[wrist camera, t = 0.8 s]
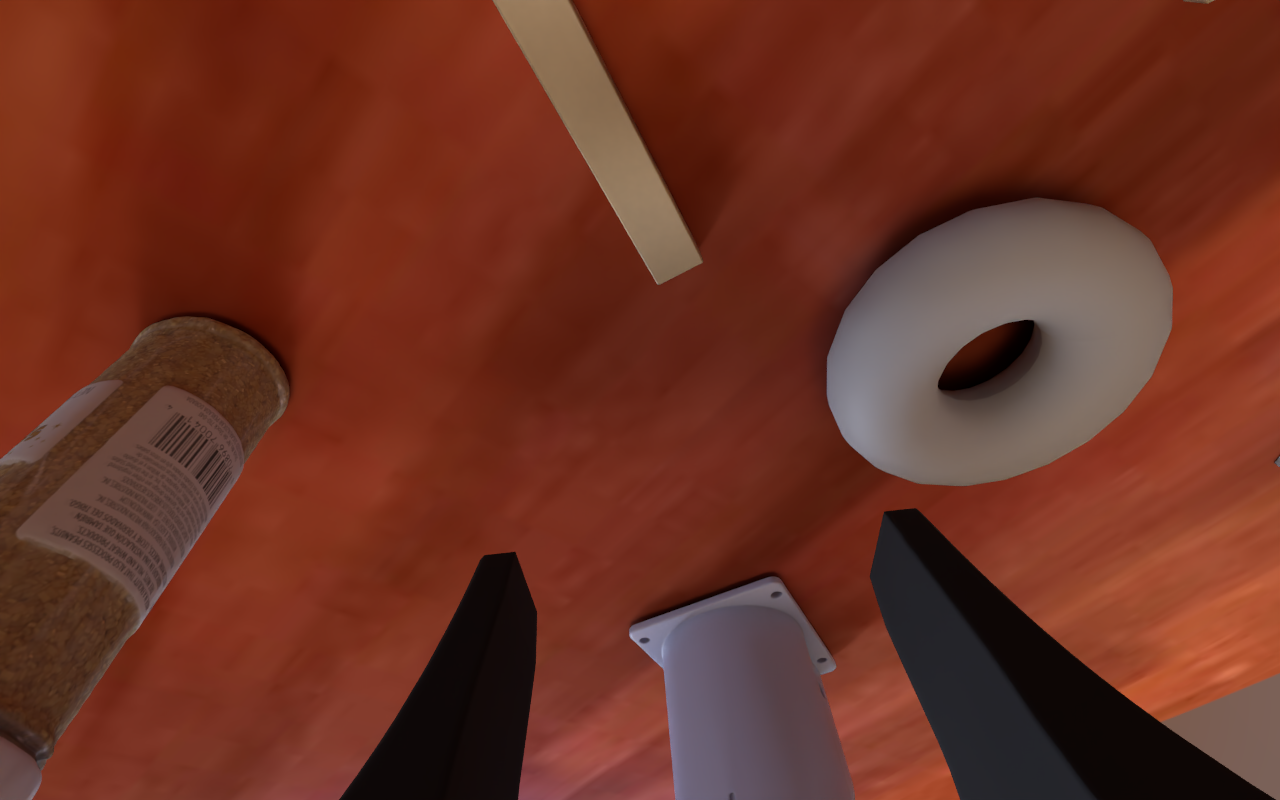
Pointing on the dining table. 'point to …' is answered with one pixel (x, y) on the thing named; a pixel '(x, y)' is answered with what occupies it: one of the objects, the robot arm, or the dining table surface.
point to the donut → (979, 301)
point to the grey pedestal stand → (1278, 462)
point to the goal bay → (605, 129)
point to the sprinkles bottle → (115, 515)
